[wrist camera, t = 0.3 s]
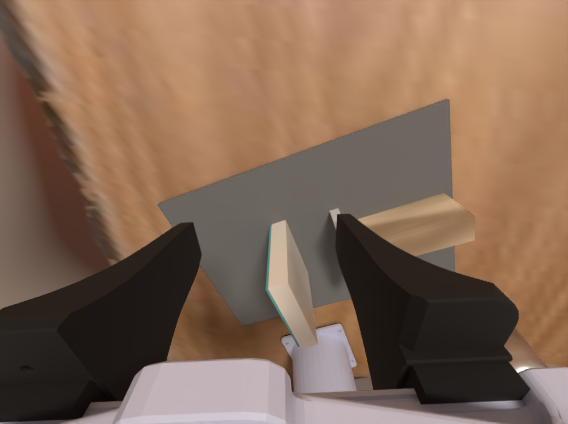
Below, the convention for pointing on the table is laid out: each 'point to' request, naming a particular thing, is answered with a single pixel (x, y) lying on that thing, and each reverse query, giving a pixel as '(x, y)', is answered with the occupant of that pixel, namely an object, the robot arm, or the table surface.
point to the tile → (290, 285)
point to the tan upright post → (422, 225)
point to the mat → (315, 205)
